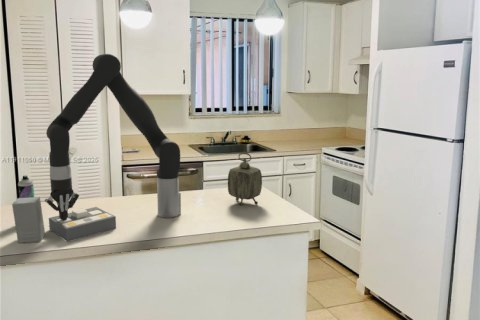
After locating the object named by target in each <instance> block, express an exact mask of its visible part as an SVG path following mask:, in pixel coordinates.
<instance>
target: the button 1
mask: <svg viewBox="0 0 480 320" xmlns="http://www.w3.org/2000/svg"><path fill="white" fill-rule="evenodd" d="M56 221H58V222H59V223H63V222H67V221H71V219H70V218H67V220H61V219H57V220H56Z"/></svg>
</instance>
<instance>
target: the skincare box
mask: <svg viewBox="0 0 480 320" xmlns="http://www.w3.org/2000/svg"><path fill="white" fill-rule="evenodd" d="M11 205H12V211H13V212H12V213H13V219H14V225H15V232H16V237H17V243H18V244H23V243H36V242H37V243H38V242H42V240H43V238H44V237H45V236H46V231H45V224H44V223H45V222H44V218H43V217H44V215H43V209H42V201H41V197H40V196H34V197H31V198H19V197H18V198H17V199H15V200H14V201H13V203H12V204H11Z"/></svg>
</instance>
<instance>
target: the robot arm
mask: <svg viewBox="0 0 480 320" xmlns="http://www.w3.org/2000/svg"><path fill="white" fill-rule="evenodd" d="M121 68H122V65H121V61H120V59H119V58H118V57H117V56H116V55H114V54H111V53H103V54H98V55H97V56H95V58H93V61H92V69H93V71H92V73H91V75H90V76H89V78H88V80H86V82H85V83H84V85H82V87H81V88H80V89H78V90H77V92H75V94H73V96H72V97H71V98H70V100H69V101H68V102H67V103H66V105H65V106H64V108H63V109H62V110H61V112H60V113H59V114H58V115H57V116H56V117H55V118H54V119H53V120H52V121H51V123H50V124H49V125H48V127H47V129H46V136H47V138H48V140H49V147H50V152H49V153H48V155H49V157H48V158H49V181H50V190H51V191H50V194H49V195H50V196H49V197H47V198H44V202H45V203H46V204H47V205H48V206H49V207H51V208H52V209H53V210H54V211H56V212H58V216H59V218H60V219H61V220H67V218H68V213H69V211H68V210H69V209H72V208H74V207H73V206H75V204H76V202H77V200H78V199H79V197H80V194H78V193H76V192H74V189H73V179H72V168H71V162H70V144H71V143H70V142H71V138H70V137H71V136H70V132H69V131H70V130H71V129H72V128H73V127H74V125H76V124H78V123H79V122H80V121H81V119H82V118H83V117H84V115H85V114H86V113H87V111H88V110H89V108H90V107H91V105H92V104H93V103H94V101H95V100H96V99H97V98H98V96H99V94H101V92H102V91H104V89H105V88H106V87H107V88H108V89H109V91H110V92H111V94H112V95H113V96H114V98H115V100H116V101H117V103H118V104H119V105H120V107H121V109H122V110H123V112H124V113H125V114H126V116H127V117H128V118H129V120H130V121H131V122H132V124H133V125H134V126H135V127H136V128H137V130H138V131H139V132H140V133H141V135H143V136H144V138H145V140H146V141H147V143H148V144H149V146H150V147H151V149H152V151H153V153H154V154H155V156H156V158H158V162H159V163H158V169H157V171H156V185H157V186H156V190H157V192H156V193H157V196H156V198H157V216H158V217H160V218H166V219H167V218H175V217H178V216H179V215H181V214H182V203H181V202H182V201H181V199H182V197H181V192H179V191H180V189H179V188H180V187H179V185H180V184H179V173H180V169H181V148H180V146H179V144H178V143H176V142H175V141H174V140H171V139H170V138H168V137H167V135H166V133H164V132H163V130H162V129H161V128H160V126H159V125H158V123H157V120H156V117H155V114H154V113H153V110H152V109H151V107H150V105H148V103H147V102H146V100H145V99H144V98H143V96H141V94H140V93H138V91H137V90H136V89H135V88H133V87H132V85H130V84H129V83H128V82H127V80H126V79H125V78H124V76H123V74H122V73H121ZM54 202H56V204H55V203H54Z"/></svg>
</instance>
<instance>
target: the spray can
mask: <svg viewBox="0 0 480 320" xmlns="http://www.w3.org/2000/svg"><path fill="white" fill-rule="evenodd" d="M17 188H18V196H19V197H18V198H31V197H35V190H34V189H35V187H34V181H33V180H31V179H30V178H29V177H28V175H23V176H22V178H21V180H20V181H19V180H18V183H17Z"/></svg>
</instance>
